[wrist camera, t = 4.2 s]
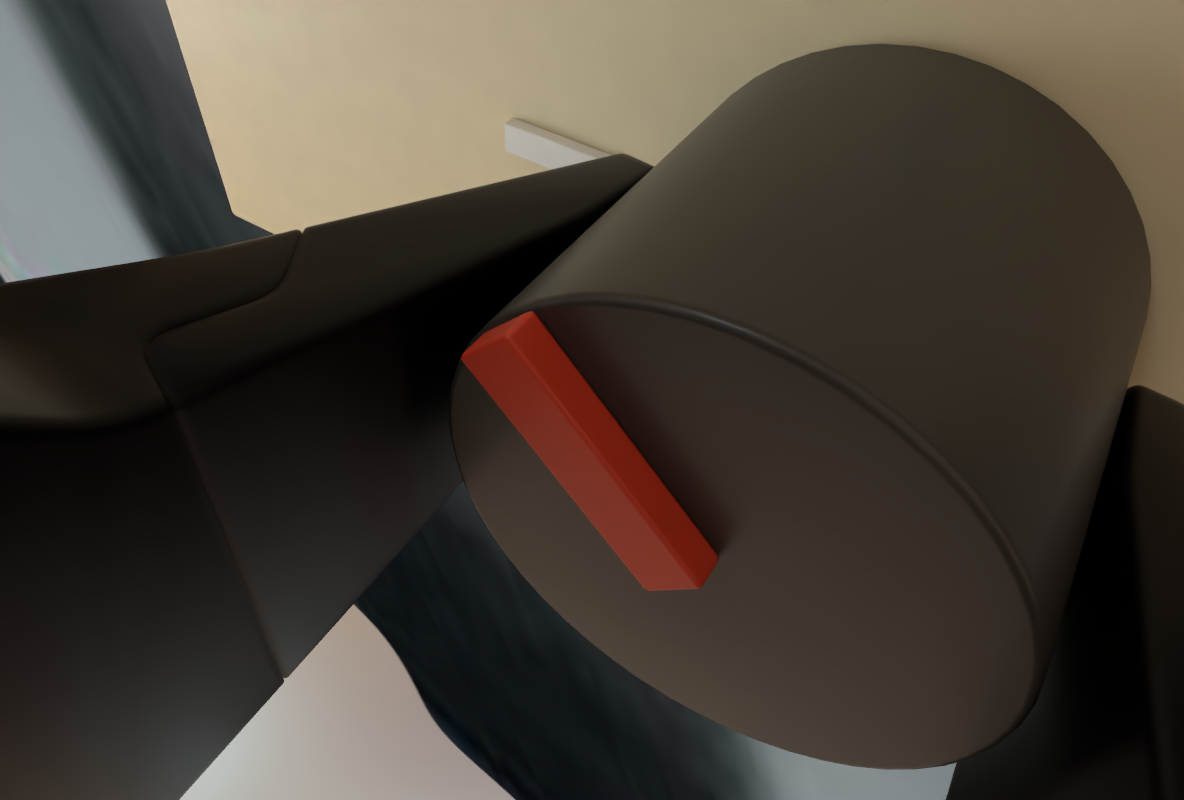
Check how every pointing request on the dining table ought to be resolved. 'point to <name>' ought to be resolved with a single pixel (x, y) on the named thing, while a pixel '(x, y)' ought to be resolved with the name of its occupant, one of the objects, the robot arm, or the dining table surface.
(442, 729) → the dining table surface
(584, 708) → the dining table surface
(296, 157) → the wooden block
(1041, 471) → the dial
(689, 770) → the dining table surface
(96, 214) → the dining table surface
